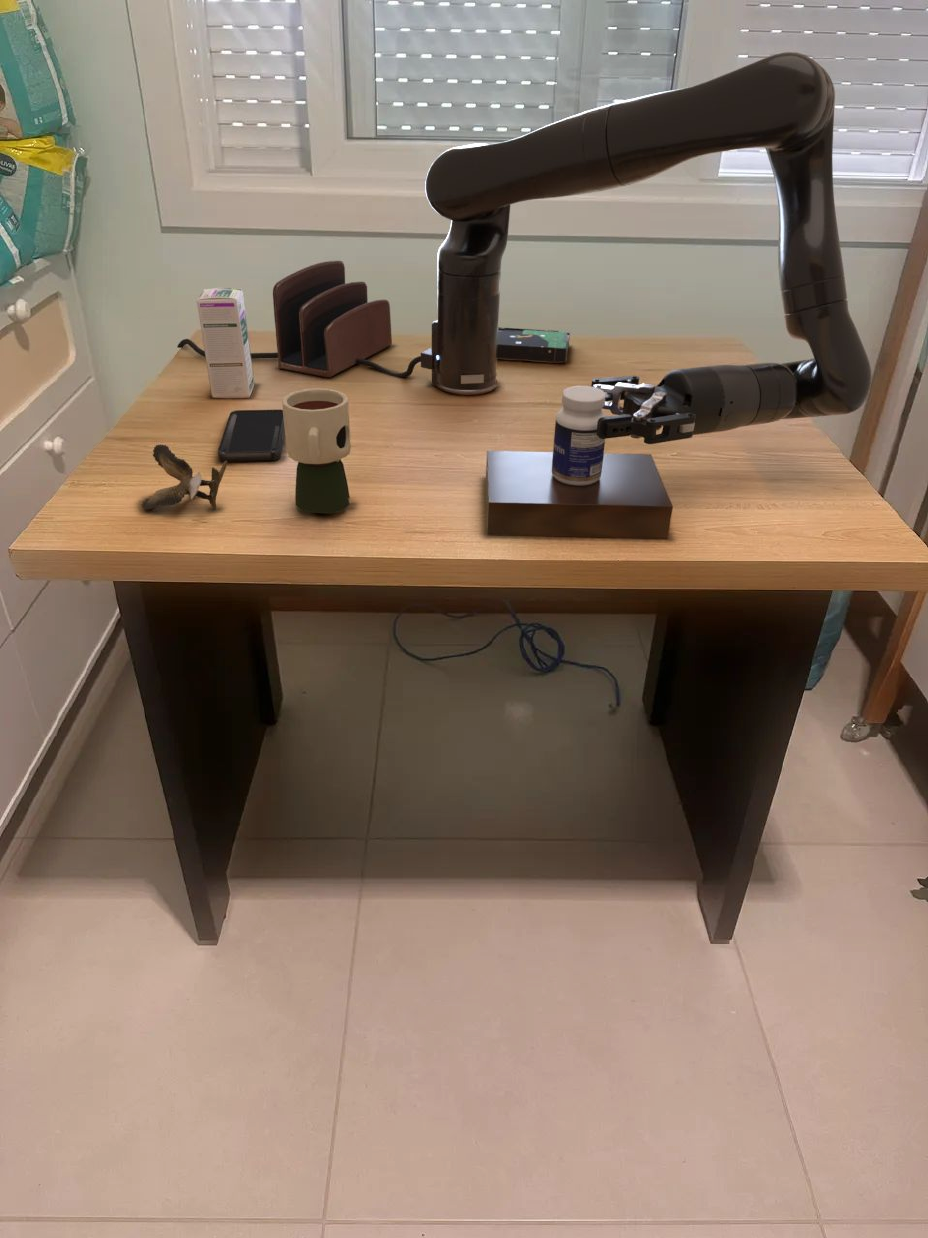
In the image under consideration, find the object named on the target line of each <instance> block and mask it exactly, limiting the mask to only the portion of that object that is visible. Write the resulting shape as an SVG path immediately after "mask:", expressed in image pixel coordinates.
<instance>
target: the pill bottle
mask: <svg viewBox="0 0 928 1238" xmlns="http://www.w3.org/2000/svg"><path fill="white" fill-rule="evenodd" d="M605 394H606V393H605V392H604V391H602V390H601V389H598V388H595V387H591V385H573V386H568V387H566V388H564V389H563V391H562V394H561V404H562V408H561V409H560V410H558V412H557V413H556V416H555V424H554V437H553V447H552V452H553V459H552V475H553V476H554V478H555V479H557V480H558V481H560V482H562V483H565V484H568V485H574V486H584V485H590V484H593V483H595V482H597V481H598V480H599V479H600V477H601V473H602V464H603V455H604V453H605V445H606V439H600V438H599V437H598V436H597V434H596V432H597V423H598V420H599V419H600V418H601V417H607V415H606V412H604V411H603V409H602V408H603V407H604V405H605V402H606V401H605ZM563 406H564V407H563Z"/></svg>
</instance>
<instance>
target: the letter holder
mask: <svg viewBox="0 0 928 1238" xmlns="http://www.w3.org/2000/svg"><path fill="white" fill-rule="evenodd" d="M272 301H273V303H272V304H273V314H274V315H273V316H274V317H273V318H274V325H275V326H274V327H275V328H274V329H275V339H276V350H277V352H278V358H277V364H278V366H277V367H278V368H279V370H286V371H290V372H296V373H301V374H306V375H311V376H315V377H316V376H317V377H322V378H326V379H330V378H332V377H333V376H335V375H337V374H339V373H342V372H344V371H345V370H347V369H349V368H351V367H353V366H355V365H357V363H356V359H357V358H360V359H364V360H367V358H370V357H372V356H374V355H376V354H378V353H379V352H381V351H383V350H385V349H387V348H389V347H391V346H393V338H392V337H393V336H392V320H391V303H390V302H389V300H388V299H384V298H383V299H377V300H373V301H369V302H368V286H367V283H366V281H350V282H346V268H345V263H344V262H343V261H342V260H328V261H322V262H318V263H315V264H312V265H309V266H306V267H303V268H302V269H299V270H296V271H295V272H293V273H291V274H289V275H287V276H286V277H283V278H282V279H280V280H278V281H277V282H276V283H275V284H274V286H273V287H272ZM277 352H276V353H277Z"/></svg>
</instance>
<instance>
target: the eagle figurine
mask: <svg viewBox="0 0 928 1238" xmlns="http://www.w3.org/2000/svg"><path fill="white" fill-rule="evenodd" d="M152 452H153V453H152V457H153V458H154V460H155V462H157V464H158V466H159V467H161V468H162V469H163V470H164V472H165V473H166V474H167V475H169V476H170V477H172V478H174V479H176V480H178V481H179V483H177V484H176V485H173V486H169V487H165V488H160V489H158V490H156V491H155V492H154V493H153V494H152V495H150V497H148V498H145V500H143V501H142V503H141V506H142V508H143V509H144V510H152V509H154V508H158V507H159V506H161V507H162V506H166V505H167V506H170V507H171V506H175V505H177V504H180V502H182V501H183V499H185V497H186V496H189V497H190V500H191V501H192V500H193V499H194V498H195V497H197V498H200V499H202V500H208V502H209V504H210V506H211V508H213V510H217V503H216V502H217V495H218V492H219V488H220V484H221V482H222V480H223V478H224V477H223V476H224V474H225V472H226V469H227V463H228V462H227V461H225V462H224V461H223V463H222V466H221V467H220V469H219V470H218V469H217V468H215V467H211V479H210V480H205V479H202V474H201V472H200V471H198V472H197V473H196V474H195V475H194V476H193V473H194V471H193V468H192V467H191V465H189V463H188V462H187V461H185V459H183V458H179V457H177V456H176V454H175V453H173V452H172V450H171V449H170V448H169V446H168V445H166V444H156V445H155V446H154V447H153V450H152ZM206 486H208V488H209V494H207V493H205V492H204V491H201V490H199V488H200V487H206Z"/></svg>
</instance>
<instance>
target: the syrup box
mask: <svg viewBox="0 0 928 1238" xmlns="http://www.w3.org/2000/svg"><path fill="white" fill-rule="evenodd" d="M196 305H197V309H198V310H197V311H198V318H199V324H200V331H201V332H200V333H201V337H202V344H203V351H205V357H204V358H205V362H206V369H207V374H208V381H209V387H210V392H211V393H210V394H211V397H212V398H215V399H247V398H248V399H249V398H250V397H251V394H252V392H253V390H254V387H255V383H256V382H255V377H254V376H255V375H254V368H253V362H252V361H253V359H251V353H252V352H251V345H250V338H249V330H248V323H247V316H246V308H245V300H244V293H243V289H242V288H237V287H235V288H234V287H233V288H232V287H213V288H203V291H202V293H200V295H199V296H198V298H197V299H196Z"/></svg>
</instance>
